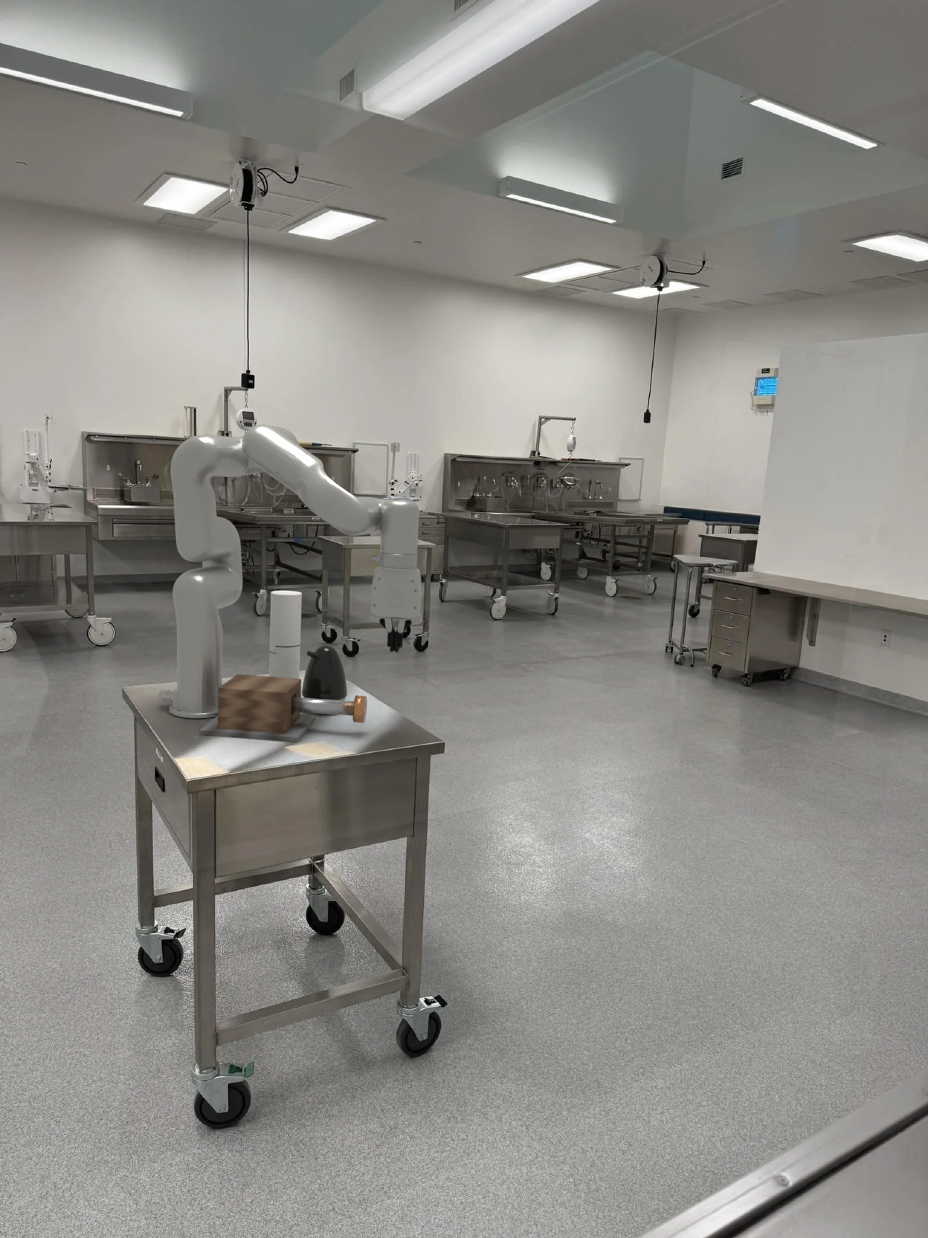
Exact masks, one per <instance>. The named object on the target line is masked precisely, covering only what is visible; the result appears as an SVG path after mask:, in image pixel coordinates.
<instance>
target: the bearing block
mask: <svg viewBox="0 0 928 1238" xmlns="http://www.w3.org/2000/svg"><path fill="white" fill-rule="evenodd" d="M291 697H301V698H302V679H301V678H299V679H296V678H282V677H269V675H268V676H266V675H256V674H255V675H253V674H239V673H237V674H236V675H234V676H233V677H232V678H230V679H229V680H227V681H226V682H224V683H222V686H220V687H219V688H218V716H216V717H213V719H212V720H210V721H208V722H207V723H206V724H205V725H204V726H202V727H201V728H200V729H199V736H211V737H223V738H237V739H251V740H260V741H261V740H263V741H275V742H286V743H287V742H288V743H289V742H290V743H291V742H292V743H298V742H299V741H300V740H301V739H302V738H303V736H304V735H305V734H306V732H307V731H308V730H309V729H310V728H311V726H312V725H313V724H314V722H315V721H316V720H317V719H316V718H317V715H315V714H301V712H295V711H291Z"/></svg>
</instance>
